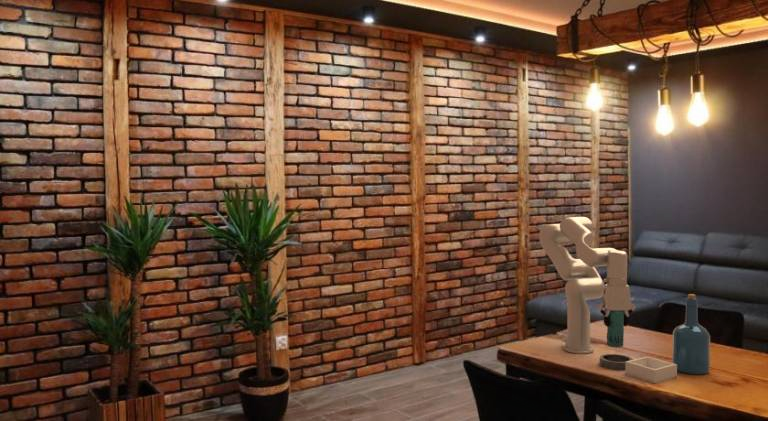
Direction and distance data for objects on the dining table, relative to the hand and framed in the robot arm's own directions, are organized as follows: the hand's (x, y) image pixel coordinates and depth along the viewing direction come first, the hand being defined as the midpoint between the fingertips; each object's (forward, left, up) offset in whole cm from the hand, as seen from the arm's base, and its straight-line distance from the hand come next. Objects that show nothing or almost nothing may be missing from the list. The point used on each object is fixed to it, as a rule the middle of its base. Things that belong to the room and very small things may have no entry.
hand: (615, 325), depth 260 cm
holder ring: (+1, 0, -16) cm, 16 cm away
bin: (+17, 0, -16) cm, 23 cm away
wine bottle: (+21, +19, -16) cm, 32 cm away
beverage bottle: (0, 0, -10) cm, 10 cm away
